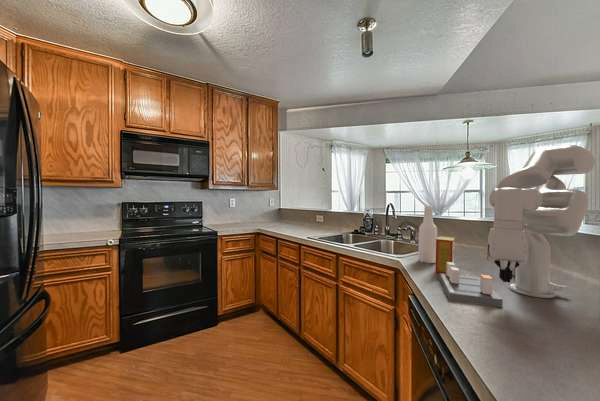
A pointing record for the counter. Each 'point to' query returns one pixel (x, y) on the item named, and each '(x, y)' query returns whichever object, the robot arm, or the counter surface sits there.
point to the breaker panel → (468, 291)
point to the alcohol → (427, 237)
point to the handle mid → (454, 275)
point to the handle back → (449, 264)
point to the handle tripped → (486, 284)
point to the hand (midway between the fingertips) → (505, 281)
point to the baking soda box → (444, 253)
